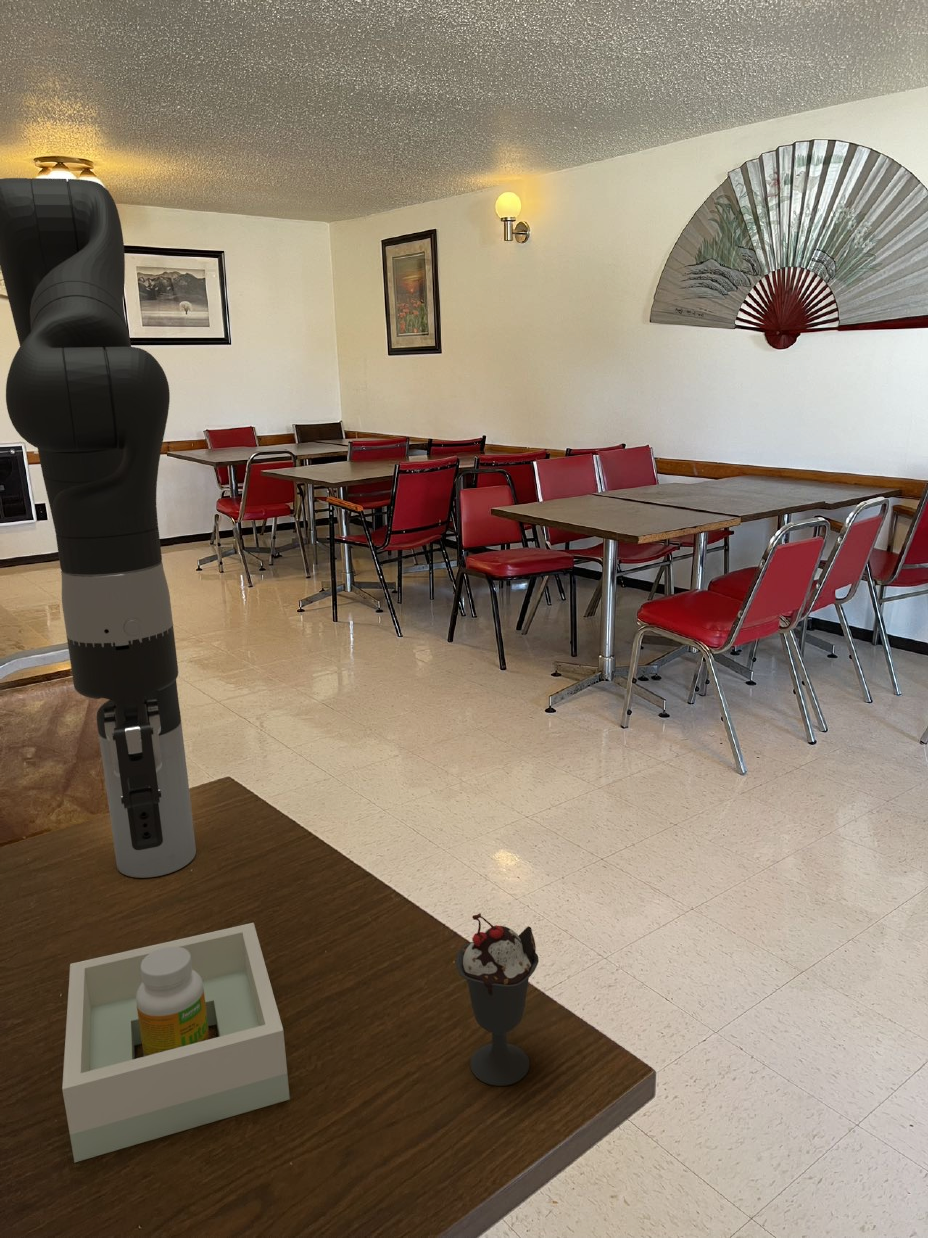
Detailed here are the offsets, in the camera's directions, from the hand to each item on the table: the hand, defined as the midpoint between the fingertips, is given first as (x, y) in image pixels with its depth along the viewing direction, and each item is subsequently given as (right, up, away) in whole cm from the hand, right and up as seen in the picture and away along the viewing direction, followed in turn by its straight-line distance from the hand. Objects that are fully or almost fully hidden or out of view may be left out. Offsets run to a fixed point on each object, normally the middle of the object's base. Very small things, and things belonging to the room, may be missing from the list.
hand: (145, 821), depth 72 cm
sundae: (+28, -21, +4) cm, 36 cm away
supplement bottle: (+1, -22, +5) cm, 22 cm away
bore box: (+1, -22, +5) cm, 22 cm away
